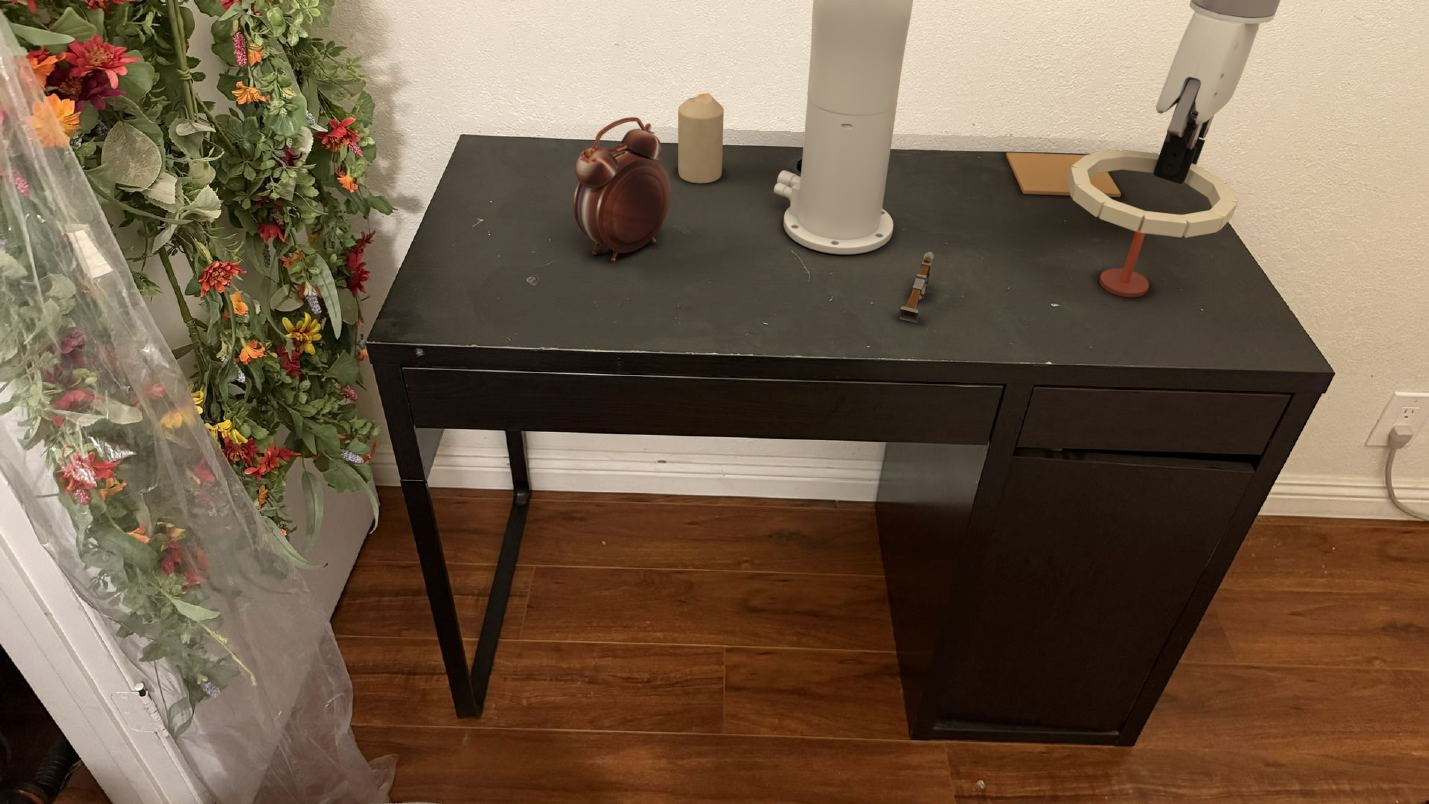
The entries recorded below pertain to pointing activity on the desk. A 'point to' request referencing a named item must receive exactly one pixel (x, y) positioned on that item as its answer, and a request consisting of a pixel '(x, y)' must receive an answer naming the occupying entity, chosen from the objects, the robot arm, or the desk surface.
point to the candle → (700, 139)
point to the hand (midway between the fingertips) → (1172, 174)
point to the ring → (1147, 220)
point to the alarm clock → (622, 190)
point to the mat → (1053, 174)
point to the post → (1126, 274)
